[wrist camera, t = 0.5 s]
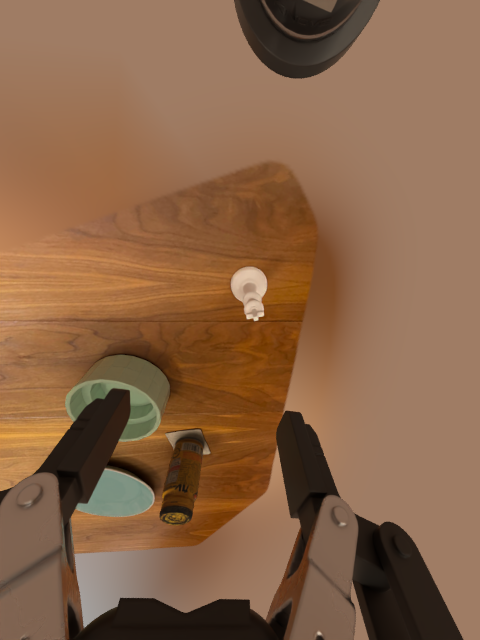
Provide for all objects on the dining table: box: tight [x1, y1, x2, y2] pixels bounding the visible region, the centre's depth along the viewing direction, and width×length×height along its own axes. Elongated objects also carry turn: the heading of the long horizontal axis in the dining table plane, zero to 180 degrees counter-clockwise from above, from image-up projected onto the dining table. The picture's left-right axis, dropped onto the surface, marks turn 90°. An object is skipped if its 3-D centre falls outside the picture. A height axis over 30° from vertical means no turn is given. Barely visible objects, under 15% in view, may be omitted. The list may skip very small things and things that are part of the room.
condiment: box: [160, 429, 210, 525], centre depth 39 cm, size 7×8×12 cm
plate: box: [75, 466, 155, 517], centre depth 49 cm, size 22×22×3 cm
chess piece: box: [231, 267, 267, 321], centre depth 24 cm, size 5×5×10 cm
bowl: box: [65, 355, 170, 442], centre depth 34 cm, size 13×13×6 cm
